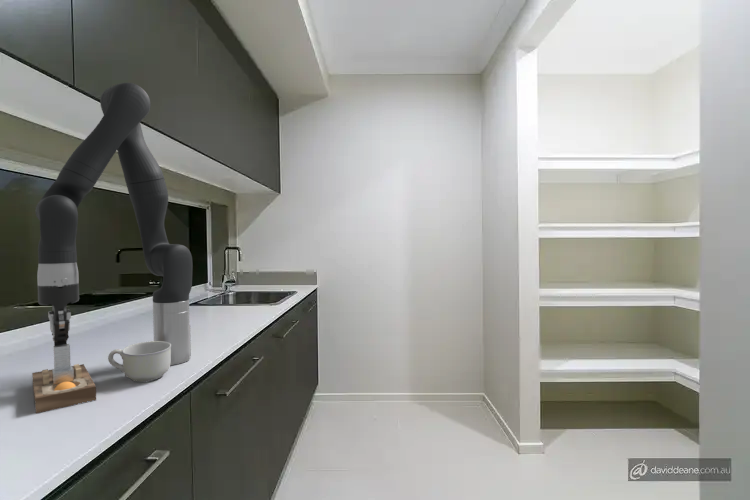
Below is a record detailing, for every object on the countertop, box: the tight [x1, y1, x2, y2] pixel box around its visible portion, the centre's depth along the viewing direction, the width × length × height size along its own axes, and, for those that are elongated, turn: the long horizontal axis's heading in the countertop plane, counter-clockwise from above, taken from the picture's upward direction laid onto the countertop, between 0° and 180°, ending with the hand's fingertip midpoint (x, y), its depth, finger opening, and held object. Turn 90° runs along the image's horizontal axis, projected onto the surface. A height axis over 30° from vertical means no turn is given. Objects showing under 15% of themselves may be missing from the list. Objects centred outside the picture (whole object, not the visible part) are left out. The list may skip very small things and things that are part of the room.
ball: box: [54, 382, 76, 391], centre depth 88 cm, size 4×4×4 cm
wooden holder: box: [31, 363, 97, 414], centre depth 93 cm, size 21×10×5 cm, turn 41°
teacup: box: [107, 340, 171, 383], centre depth 102 cm, size 14×11×8 cm
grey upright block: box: [51, 343, 74, 384], centre depth 91 cm, size 4×4×8 cm
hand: (60, 356), depth 95 cm, fingers closed
